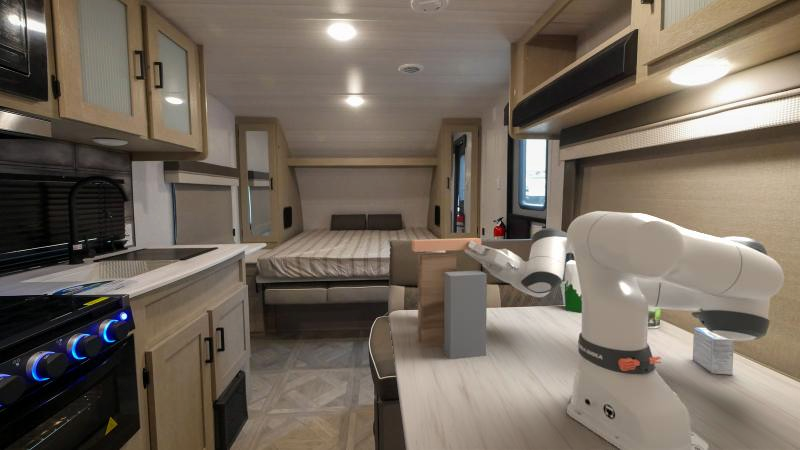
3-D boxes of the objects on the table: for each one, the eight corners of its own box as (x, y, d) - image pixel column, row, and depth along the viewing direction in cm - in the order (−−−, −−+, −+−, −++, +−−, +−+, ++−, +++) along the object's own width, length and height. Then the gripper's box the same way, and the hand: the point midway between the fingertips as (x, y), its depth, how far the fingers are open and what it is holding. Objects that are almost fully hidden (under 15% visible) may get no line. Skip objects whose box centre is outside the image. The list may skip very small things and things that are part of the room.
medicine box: (733, 375, 85) (735, 339, 84) (711, 374, 86) (713, 338, 85) (711, 361, 93) (713, 327, 92) (691, 359, 94) (693, 326, 93)
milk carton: (589, 314, 130) (590, 259, 128) (562, 310, 135) (563, 257, 134) (593, 308, 137) (594, 256, 136) (567, 304, 142) (568, 254, 141)
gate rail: (481, 249, 105) (481, 238, 105) (414, 251, 101) (414, 241, 101) (477, 247, 108) (477, 237, 108) (411, 250, 104) (411, 239, 104)
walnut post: (456, 344, 105) (456, 254, 103) (422, 347, 102) (422, 256, 101) (450, 337, 109) (450, 252, 108) (418, 340, 107) (417, 253, 106)
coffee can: (664, 323, 120) (665, 281, 119) (655, 331, 113) (657, 287, 112) (628, 316, 128) (630, 277, 127) (618, 323, 121) (619, 281, 120)
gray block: (486, 355, 97) (486, 274, 95) (450, 359, 95) (450, 276, 93) (478, 348, 102) (478, 270, 100) (444, 351, 100) (444, 272, 98)
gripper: (516, 280, 98) (474, 257, 95) (483, 267, 118) (448, 247, 115) (526, 260, 99) (486, 236, 96) (492, 250, 119) (458, 230, 116)
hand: (465, 242), depth 106 cm, fingers closed on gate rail, 3 cm apart
